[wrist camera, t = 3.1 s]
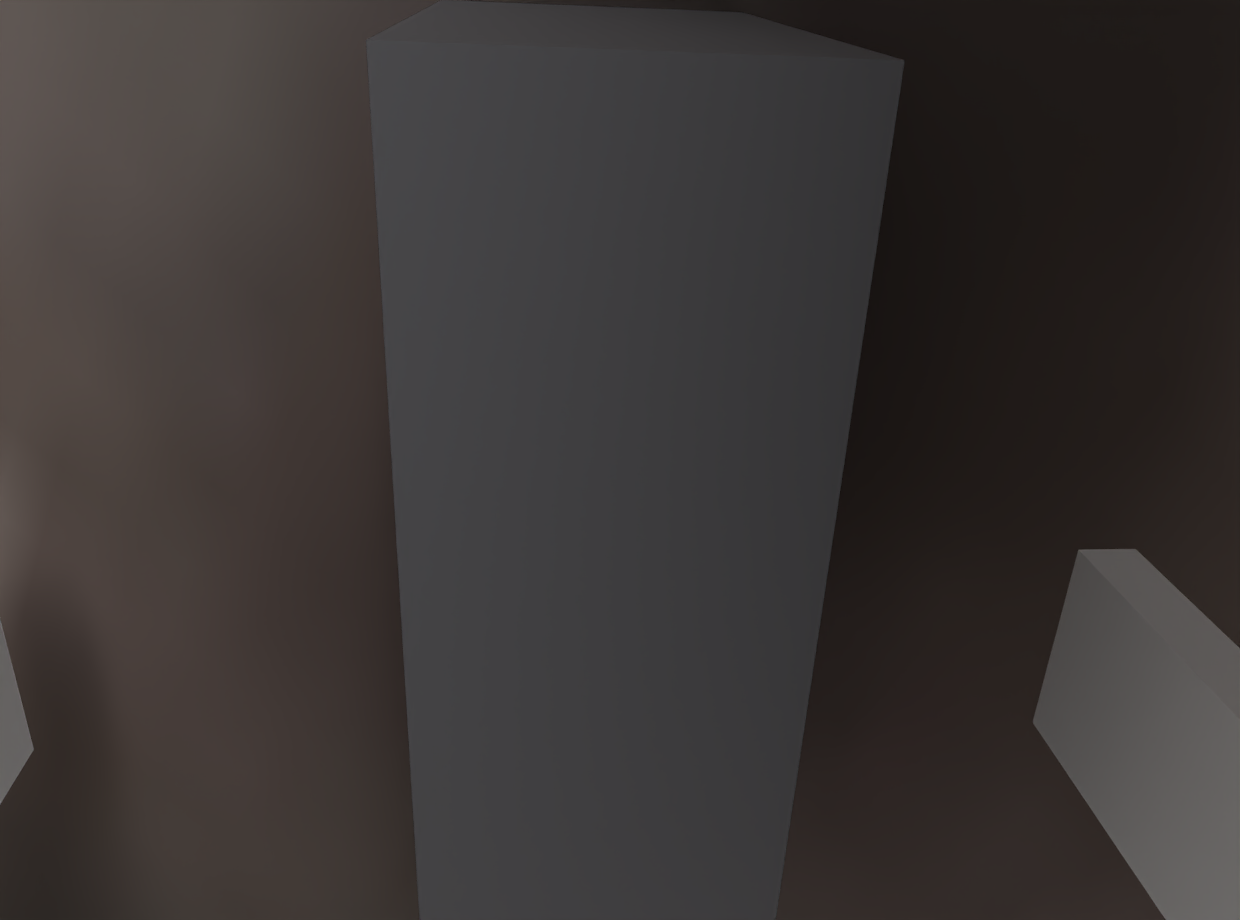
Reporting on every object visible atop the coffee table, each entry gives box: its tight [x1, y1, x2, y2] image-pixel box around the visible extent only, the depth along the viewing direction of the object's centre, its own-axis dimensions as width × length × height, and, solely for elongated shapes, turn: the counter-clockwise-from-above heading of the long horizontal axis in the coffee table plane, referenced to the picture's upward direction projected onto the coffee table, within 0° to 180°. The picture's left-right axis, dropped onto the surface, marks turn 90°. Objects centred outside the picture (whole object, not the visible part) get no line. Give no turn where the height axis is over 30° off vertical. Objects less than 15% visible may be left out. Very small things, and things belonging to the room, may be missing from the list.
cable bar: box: [366, 0, 905, 920], centre depth 12 cm, size 14×4×6 cm, turn 178°
